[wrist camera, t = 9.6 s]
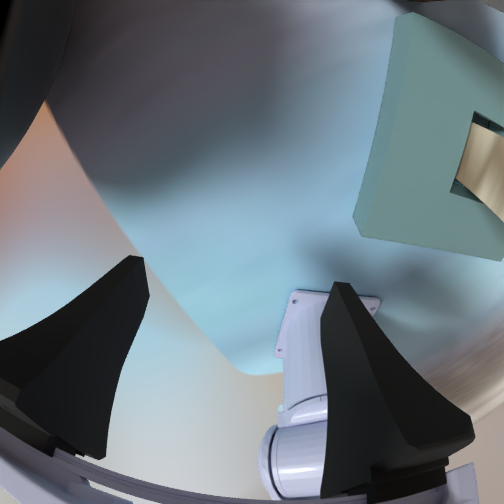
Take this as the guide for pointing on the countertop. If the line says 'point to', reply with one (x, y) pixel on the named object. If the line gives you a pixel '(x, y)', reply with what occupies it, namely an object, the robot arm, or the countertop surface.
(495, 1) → the food container
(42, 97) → the bowl of black rocks
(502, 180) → the wood stick
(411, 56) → the holder plate
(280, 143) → the countertop surface
